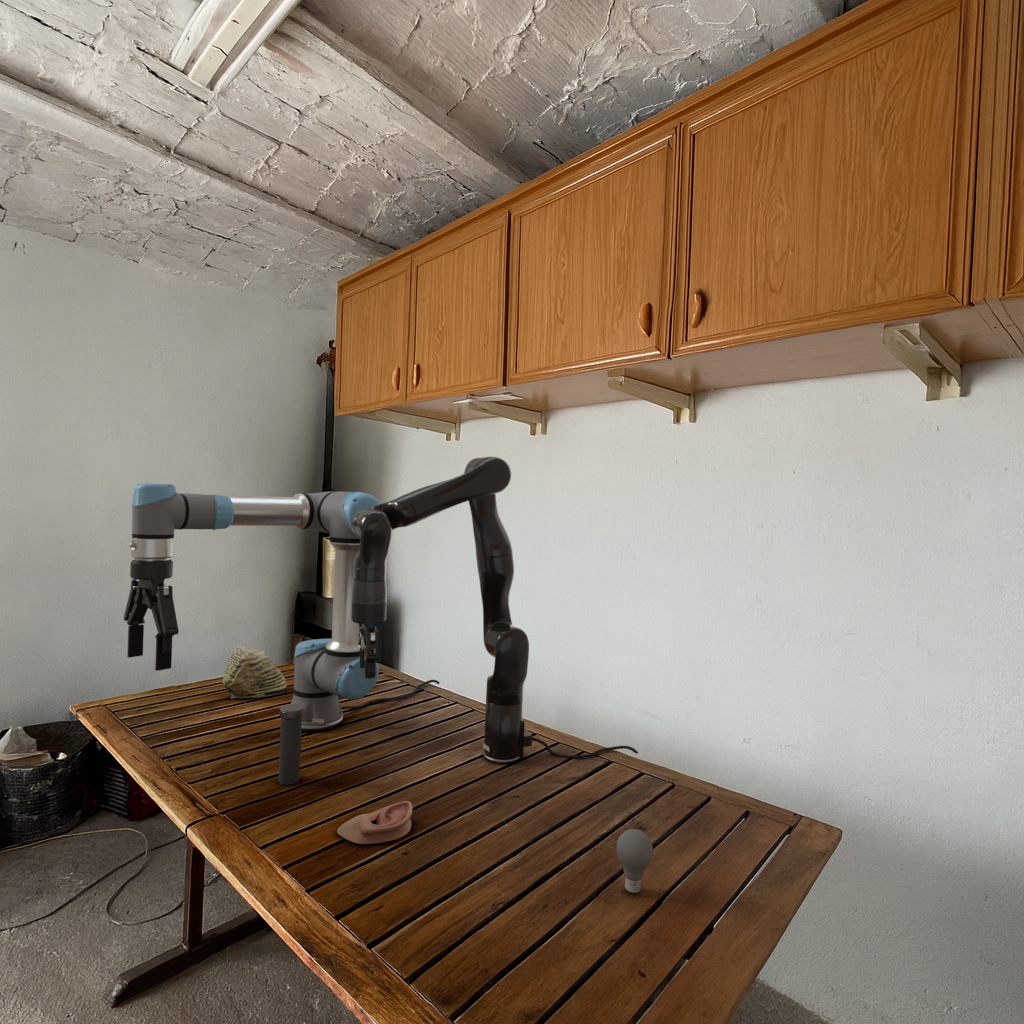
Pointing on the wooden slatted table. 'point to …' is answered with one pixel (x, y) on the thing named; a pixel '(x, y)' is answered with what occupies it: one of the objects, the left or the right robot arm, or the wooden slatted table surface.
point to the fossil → (252, 674)
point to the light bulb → (634, 857)
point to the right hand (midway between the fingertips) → (367, 672)
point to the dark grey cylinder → (290, 751)
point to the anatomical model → (379, 825)
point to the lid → (291, 711)
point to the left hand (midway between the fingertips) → (148, 662)
